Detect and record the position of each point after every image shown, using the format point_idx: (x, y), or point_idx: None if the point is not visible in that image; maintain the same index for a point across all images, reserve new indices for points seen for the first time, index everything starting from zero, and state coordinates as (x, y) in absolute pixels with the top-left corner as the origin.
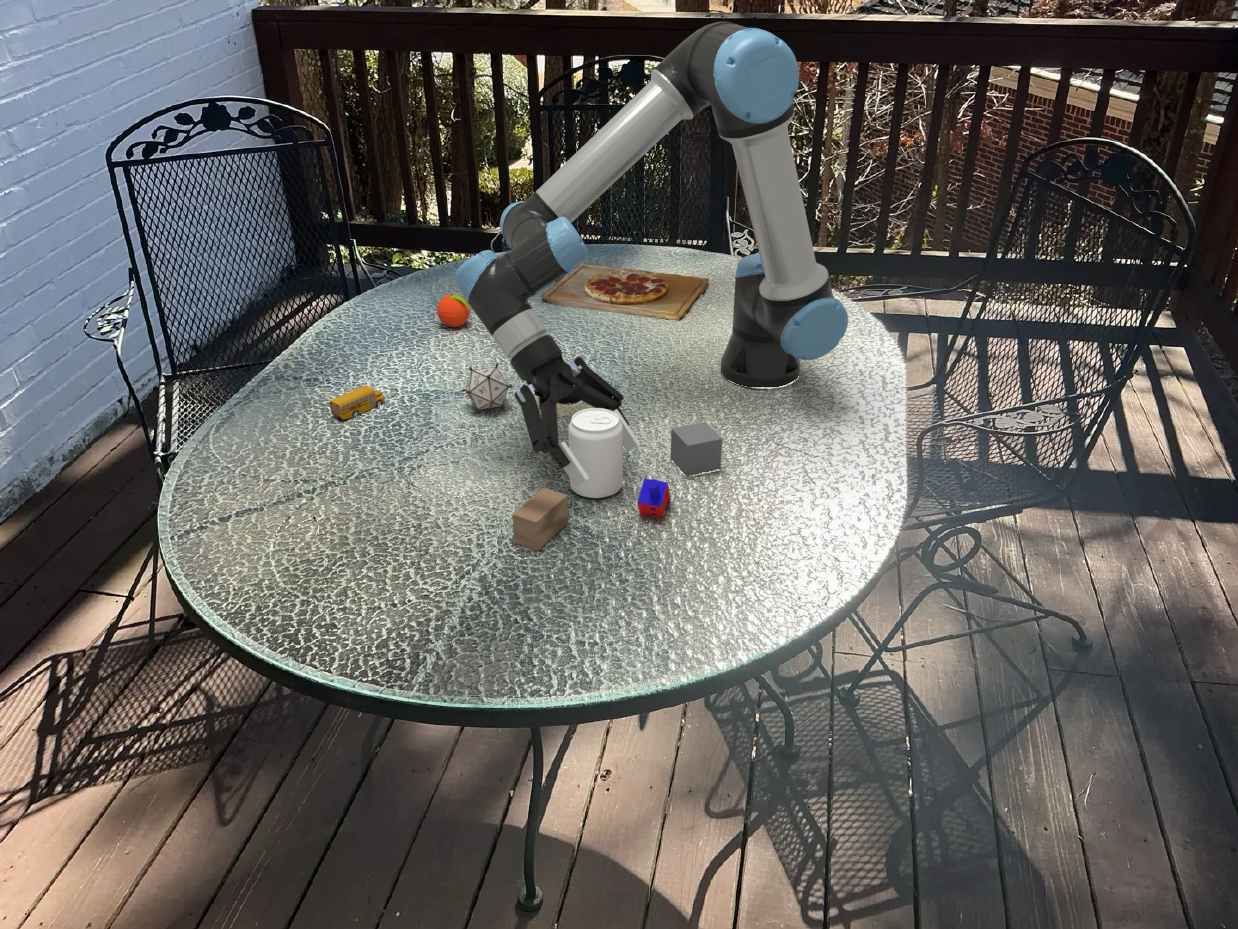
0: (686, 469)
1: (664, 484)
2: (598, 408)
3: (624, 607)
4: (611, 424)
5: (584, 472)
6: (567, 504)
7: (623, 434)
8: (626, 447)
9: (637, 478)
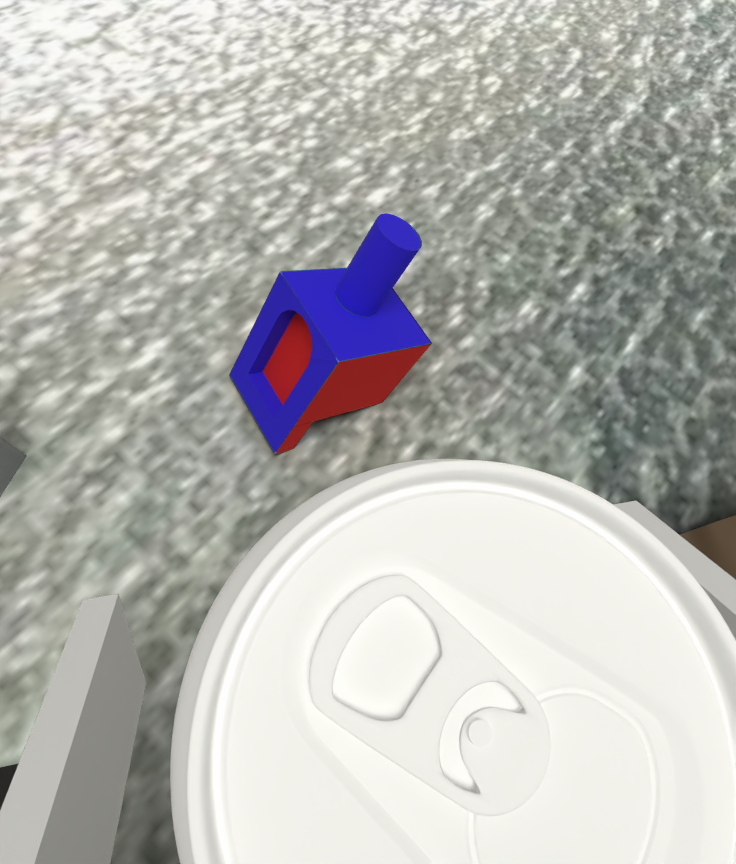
0: (1, 441)
1: (297, 279)
2: None
3: (701, 152)
4: (403, 534)
5: (642, 525)
6: (702, 527)
7: (106, 734)
8: (137, 695)
9: (178, 611)
